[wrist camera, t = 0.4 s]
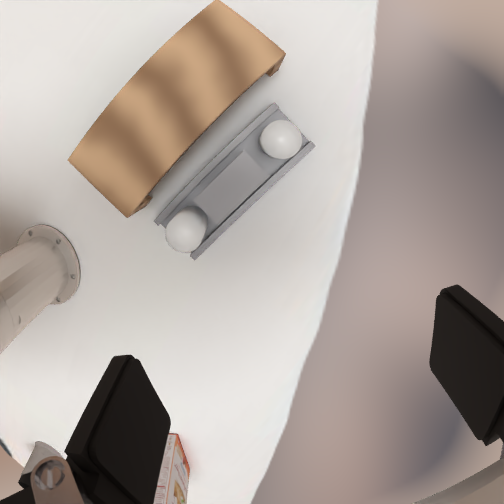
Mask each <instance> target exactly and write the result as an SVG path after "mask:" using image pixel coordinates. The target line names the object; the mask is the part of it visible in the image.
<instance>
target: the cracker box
mask: <svg viewBox="0 0 504 504" xmlns="http://www.w3.org/2000/svg"><path fill="white" fill-rule="evenodd" d="M189 472H190V468H189V465H188V463H187V460H186V457H185V454H184V451H183V449H182V446H181V443H180V440H179V437H178V434H168V438H167V443H166V447H165V452H164V456H163V461H162V465H161V470H160V475H159V479H158V484H157V489H156V494H155V498H154V503H153V504H186V503H187V492H188V482H189Z"/></svg>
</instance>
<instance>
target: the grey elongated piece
mask: <svg viewBox="0 0 504 504" xmlns="http://www.w3.org/2000/svg"><path fill="white" fill-rule="evenodd" d="M278 108H279V106H278V105H277V104H276V103H275V102H274V103H273V104H272V105H271V106H270V107H269V108H267V109H266V110H265V111H264V112H263V113H262V114H261V115H260V116H258V117H257V118H256V119H255V120H254V121H253V122H252V123H251V124H250V125H249V126H247V127H246V128H245V129H244V130H243V131H242V132H241V133H240V134H239V135H238V136H237V137H236V138H235V139H233V140H232V141H231V142H230V143H229V144H228V145H227V146H226V147H225V148H224V149H223V150H222V151H221V152H220V153H219V154H218V155H217V156H216V157H215V158H214V159H213V160H212V161H211V162H210V163H209V164H208V165H207V166H206V167H205V168H204V169H203V170H202V171H201V172H200V173H199V174H198V175H197V176H196V177H195V178H194V179H193V180H192V181H191V182H190V183H189V184H188V185H187V186H186V187H185V188H184V189H183V190H182V191H181V192H180V193H179V194H178V195H177V196H176V197H175V199H174V200H173V201H172V202H171V203H170V204H169V205H168V206H167V207H166V208H165V209H164V210H163V211H162V213H161V214H160V215H159V216H158V217H157V218H156V219H155V220H154V222H155V223H156V224H157V225H160V224H162V225H163V226H164V227H165V228H166V231H165V236H166V240H167V242H168V244H169V245H170V246H171V247H172V248H173V249H174V250H176V251H178V252H182V253H187V252H191V255H190V256H191V257H192V258H193V259H194V260H196V259H197V258H198V257H199V256H200V255H201V254H202V253H203V252H204V251H205V250H206V249H207V248H208V247H209V246H210V245H211V244H212V243H213V242H214V241H215V240H216V239H217V238H218V237H219V236H220V235H221V234H222V233H223V232H224V231H225V230H226V229H227V228H229V227H230V226H231V225H232V224H233V223H234V222H235V221H236V220H237V219H238V218H239V217H240V216H241V215H242V214H243V213H244V212H245V211H246V210H247V209H248V208H249V207H251V206H252V205H253V204H254V203H255V202H256V201H257V200H258V199H259V198H260V197H261V196H262V195H263V194H264V193H265V192H266V191H268V190H269V189H270V188H271V187H272V186H273V185H274V184H275V183H276V182H277V181H278V180H279V179H280V178H282V177H283V176H284V175H285V174H286V173H287V172H288V171H289V170H290V169H291V168H292V167H293V166H295V165H296V164H297V163H298V162H299V161H300V160H301V159H302V158H303V157H304V156H306V155H307V154H308V153H309V152H310V151H311V150H312V149H313V148H314V147H315V145H314V144H313V142H312V141H308V140H307V139H306V137H305V136H304V135H303V134H302V133H301V132H300V130H299V129H298V127H297V126H296V125H295V124H293V123H292V122H291V121H290V120H289V119H288V118H287V117H286V116H285V115H284V114H283V113H282V112H281V111H280V110H279V109H278Z"/></svg>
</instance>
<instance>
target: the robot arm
mask: <svg viewBox="0 0 504 504" xmlns="http://www.w3.org/2000/svg"><path fill="white" fill-rule="evenodd" d="M79 279H80V268H79V263H78V259H77V256H76V253H75V251H74V249H73V247H72V246H71V244H70V243H69V241H68V240H67V239H66V238H65V237H64V235H63V234H61V233H60V232H59V231H58V230H56V229H54V228H52V227H50V226H46V225H37V226H33V227H31V228H29V229H27V230H26V231H25V232H23V234H22V235H21V236H20V238H19V240H18V242H17V246H16V247H15V248H13V249H11V250H10V251H8V252H6V253H4V254H3V255H1V256H0V354H1V353H2V351H3V350H4V349H5V348H6V347H7V346H8V345H9V344H10V343H11V342H12V341H13V340H14V339H15V338H16V337H17V336H18V335H19V334H20V333H21V332H22V331H23V330H24V329H25V327H26V326H27V325H28V324H29V323H30V322H31V321H32V320H33V319H34V318H35V317H36V316H37V315H39V314H40V313H41V312H42V311H43V310H44V309H45V308H46V307H47V306H48V305H49V304H54V305H55V304H61V303H64V302H66V301H67V300H69V299H70V298H71V297H72V296H73V295H74V293H75V292H76V290H77V287H78V285H79ZM430 368H431V371H432V372H433V374H434V375H435V376H436V378H437V379H438V381H439V382H440V384H441V385H442V386H443V388H444V389H445V391H446V392H447V394H448V395H449V397H450V398H451V400H452V401H453V403H454V404H455V406H456V407H457V409H458V410H459V412H460V413H461V415H462V416H463V418H464V419H465V421H466V422H467V424H468V426H469V427H470V429H471V430H472V432H473V434H474V435H475V437H476V438H477V439H478V440H482V441H483V442H484V444H485V446H487V445H489V444H491V443H492V442H494V441H496V440H497V439H499V438H501V439H502V441H503V446H502V451H501V456H500V460H498V461H497V462H495V463H493V464H492V465H490V466H488V467H487V468H485V469H483V470H481V471H480V472H478V473H476V474H474V475H473V476H471V477H469V478H467V479H465V480H463V481H461V482H459V483H457V484H455V485H453V486H451V487H449V488H447V489H445V490H443V491H441V492H439V493H436V494H434V495H432V496H429V497H427V498H425V499H422V500H420V501H417V502H415V503H412V504H504V322H503V320H501V319H500V318H498V316H497V315H495V314H494V313H493V312H492V311H491V310H489V309H488V308H487V307H486V306H485V305H483V304H482V303H481V302H480V301H478V300H477V299H476V298H475V297H473V296H472V295H471V294H470V293H468V292H467V291H466V290H465V289H463V288H462V287H461V286H459V285H454V286H451V287H448V288H444V289H442V290H441V292H440V295H438V296H437V298H436V309H435V320H434V330H433V339H432V347H431V354H430ZM170 425H171V421H170V417H169V414H168V413H167V411H166V409H165V407H164V406H163V404H162V402H161V400H160V399H159V397H158V395H157V393H156V391H155V389H154V388H153V386H152V384H151V382H150V380H149V378H148V376H147V374H146V372H145V370H144V368H143V366H142V364H141V362H140V361H139V360H138V359H135V358H134V357H133V356H132V355H121V356H114V357H113V358H112V360H111V362H110V364H109V365H108V367H107V369H106V371H105V373H104V375H103V376H102V378H101V380H100V382H99V384H98V386H97V388H96V389H95V391H94V393H93V395H92V397H91V399H90V401H89V403H88V405H87V407H86V408H85V410H84V412H83V414H82V416H81V418H80V420H79V422H78V424H77V426H76V428H75V430H74V432H73V434H72V436H71V438H70V441H69V443H68V445H67V447H66V449H65V451H64V452H65V453H66V454H67V455H68V456H67V459H66V460H65V459H64V458H62V457H59V456H50V457H46V458H44V459H43V460H41V461H39V462H38V463H37V464H36V465H35V467H34V469H33V470H32V473H31V486H29V487H27V488H25V489H23V490H21V491H19V492H17V493H15V494H13V495H11V496H9V497H7V498H5V499H3V500H1V501H0V504H153V503H154V498H155V494H156V489H157V484H158V479H159V475H160V470H161V465H162V461H163V456H164V452H165V447H166V443H167V438H168V434H169V430H170Z"/></svg>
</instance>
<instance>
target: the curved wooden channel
mask: <svg viewBox="0 0 504 504" xmlns="http://www.w3.org/2000/svg"><path fill="white" fill-rule="evenodd" d="M285 55H286V53H285V52H284V51H283V50H282V49H281V48H279V47H278V46H277V45H276V44H275V43H274V42H272V41H271V40H270V39H269V38H268V37H266V36H265V35H264V34H263V33H262V32H260V31H259V30H258V29H257V28H256V27H254V26H253V25H252V24H250V23H249V22H248V21H247V20H245V19H244V18H243V17H241V16H240V15H239V14H238V13H236V12H235V11H234V10H232V9H231V8H229V7H228V6H227V5H225V4H224V3H223V2H221V1H220V0H215V1H213V2H212V3H211V4H210V5H208V6H207V7H206V8H205V9H203V10H202V11H201V12H200V13H199V14H197V15H196V16H195V17H194V18H193V19H191V20H190V21H189V22H188V23H187V24H186V25H185V26H183V27H182V28H181V29H180V30H179V31H178V32H177V33H176V34H175V35H174V36H172V37H171V38H170V39H169V40H168V41H167V42H166V43H165V44H164V45H163V46H162V47H161V48H160V49H159V50H158V51H157V52H156V53H155V54H154V55H153V56H152V57H151V58H150V59H149V60H148V61H147V62H146V63H145V64H144V65H143V66H142V67H141V68H140V69H139V70H138V71H137V72H136V74H135V75H134V76H133V77H132V78H131V79H130V80H129V81H128V82H127V84H126V85H125V86H124V87H123V88H122V89H121V90H120V92H119V93H118V94H117V95H116V96H115V97H114V99H113V100H112V101H111V102H110V103H109V105H108V106H107V107H106V108H105V110H104V111H103V112H102V113H101V115H100V116H99V117H98V119H97V120H96V121H95V122H94V124H93V125H92V126H91V128H90V129H89V130H88V132H87V133H86V134H85V136H84V137H83V139H82V140H81V141H80V143H79V144H78V146H77V147H76V149H75V150H74V151H73V153H72V154H71V156H70V157H69V159H68V161H69V162H70V163H71V164H72V165H73V166H74V167H75V168H76V169H77V170H78V171H79V172H80V173H81V174H82V175H83V176H84V177H85V178H86V179H87V180H88V181H89V182H90V183H91V184H92V185H93V186H94V187H95V188H96V189H97V190H98V191H99V192H100V193H101V194H102V195H103V196H104V197H105V198H106V199H108V200H109V201H110V202H111V203H112V204H113V205H114V206H115V207H116V208H117V209H118V210H119V211H120V212H121V213H122V214H123V215H124V216H126V217H127V218H128V217H130V216H131V215H133V214H134V213H136V212H138V211H139V210H141V209H142V208H144V207H145V206H146V205H147V204H148V203H149V202H150V200H151V199H152V198H151V197H150V196H149V195H148V194H149V193H150V191H151V190H152V189H153V188H154V187H155V185H156V184H157V183H158V182H159V181H160V180H161V178H162V177H163V176H164V175H165V174H166V173H167V172H168V170H169V169H170V168H171V167H172V166H173V165H174V164H175V163H176V161H177V160H178V159H179V158H180V157H181V156H182V155H183V154H184V153H185V152H186V150H187V149H188V148H189V147H190V146H191V145H192V144H193V143H194V142H195V141H196V140H197V139H198V138H199V137H200V136H201V135H202V134H203V132H204V131H205V130H206V129H207V128H208V127H209V126H210V125H211V124H212V123H213V122H214V121H215V120H216V119H217V118H218V117H219V116H220V115H221V114H222V113H223V112H224V111H225V110H226V109H227V108H228V107H229V106H230V105H231V104H232V103H234V102H235V101H236V100H237V99H238V98H239V97H240V96H241V95H242V94H243V93H244V92H245V91H246V90H247V89H248V88H249V87H251V86H252V85H253V84H254V83H255V82H256V81H257V80H258V79H259V78H260V77H262V76H263V75H264V74H265V73H267V74H268V75H269V76H270V77H271V76H272V75H273V74H274V73H275V72H276V71H277V70H278V69H279V67H280V65H281V63H282V61H283V59H284V57H285Z"/></svg>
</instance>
